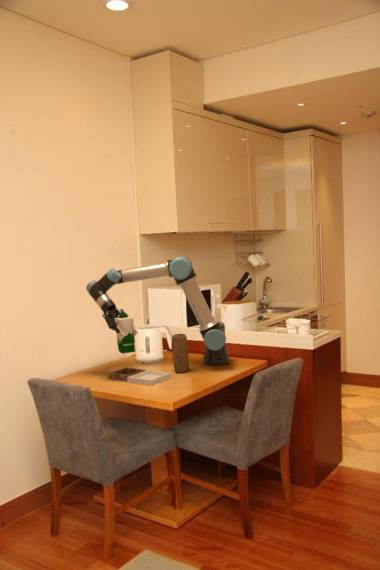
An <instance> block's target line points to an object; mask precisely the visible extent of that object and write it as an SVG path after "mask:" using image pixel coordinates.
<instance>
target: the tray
mask: <svg viewBox="0 0 380 570" xmlns="http://www.w3.org/2000/svg"><path fill="white" fill-rule="evenodd" d="M172 378H173V377H172V372H167V371H158V370H150V369H149V370H148V369H146V371H144V372H141V373H138V374H135V375H132V376H129V377H127V381H126V382H127V383H131V384H139V385H145V386H154V385H157V384H159V383H161V382H164V381H167V380H170V379H172Z"/></svg>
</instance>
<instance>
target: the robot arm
mask: <svg viewBox="0 0 380 570" xmlns="http://www.w3.org/2000/svg"><path fill="white" fill-rule="evenodd" d="M163 277H169V278H173V279H174V282H175V283H176V286H178V287H180V288H181V289H182V292H183V293H184V294H183V295H184V296H185V299H186V300H187V302H188V304H189V306H190V308H191V310H192V312H193V314H194V316H195V318H196V320H197V322H198V325H199V329H198V331H199V333H200V335H201V337H202V341H203V344H204V346H205V351H204V355H203V359H202V364H204V365H205V366H222V365H228V364H229V363H230V362H231V361H230V356H229V353H228V350H227V348H226V347H227V344H226V341H227V337H226V326H225V323H224V322H223V321H222V322H221V321H220V322H219V320H216V319H215V318H214V315H213V314H212V311H211V309H210V307H209V305H208V304H207V301H206V299H205V297H204V295H203V293H202V291H201V288H200V287H199V283H198V282H197V280H196V279H197V273H196V271H195V270H194V267H193V264H192V261H191V259H189V258H188V257H185V256H177V257H175V258H173V259H168V260H166V261H165V262H159V263H155V264H149V265H143V266H138V267H137V266H136V267H130V268H124V269H119V270H117V269H115V268H114V267H111V268H110V269H109V270H108V271H106V273H105V274H104V275H102V277H101V278H100V279H98V280H95V279H94V280H91V281H90V282H88V284H86V287H85V289H86V292H88V294H89V296H90V297H91V298H92V299H93V301H94V302H95V303H96V304H97V305H98V308H100V310H101V312H102V313H103V314H102V317H103V319H104V320H105V322H106V325H107V327H108V328H109V330H112V331H115V332H116V335H117V334H119V336H120V337H121V338H122V339H123V338H124V336H125V334H124V333H123V332H122V330H121V329H120V328H119V327H118V326H117V325H116V318H118V317H119V314H121V313H126V312H125V310H124V309H123V308H121V309H118V308H117V306H116V305H117V304H115V302H114V301H113V300H112V298H111V297H110V296H109V294H108V293H107V292H108V291H109V290H110V289H112V288H113V287H114V286H116V285H119V284H125V283H131V282H132V283H133V282H138V281H139V282H140V281H143V280H149V279H155V278H157V279H158V278H163ZM127 317H130V316H129V315H128V314H127ZM134 322H135V321H134V320H133V323H134ZM116 326H117V327H116ZM138 333H139V331H138V330H137V329H136V326H135V325H134V336H137V334H138Z"/></svg>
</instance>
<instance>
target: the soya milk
mask: <svg viewBox="0 0 380 570" xmlns="http://www.w3.org/2000/svg"><path fill="white" fill-rule="evenodd" d="M127 315H128V313H126V312H125V313H121V314H119V316H118V318H115V321H116V325H117V326H118V327H119V328H120V329H121V330H122V332H123V333H124V334H125V336H124V338H123V339H122V338H121V337H120V336H119V334H117V333H116V340H117V341H116V342H117V347H118V349H117V350H118V352H119V353H120V354H129V353H135V352H136V350H135V349H136V342H135V341H136V339H135V335H134V326H135V325H134V322H133V321H134V318H133V317H132V316H129V317H127ZM117 326H116V327H117Z"/></svg>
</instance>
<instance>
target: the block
mask: <svg viewBox="0 0 380 570" xmlns="http://www.w3.org/2000/svg"><path fill="white" fill-rule="evenodd" d="M171 338H172V339H171V351H172V360H173V366H174V367H173V368H174V372H176V373H186V372H189V370H190V359H189V357H190V356H189V349H188V347H189V346H188V338H187V335H186V334H185V333H177V334H173V335H172V337H171Z"/></svg>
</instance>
